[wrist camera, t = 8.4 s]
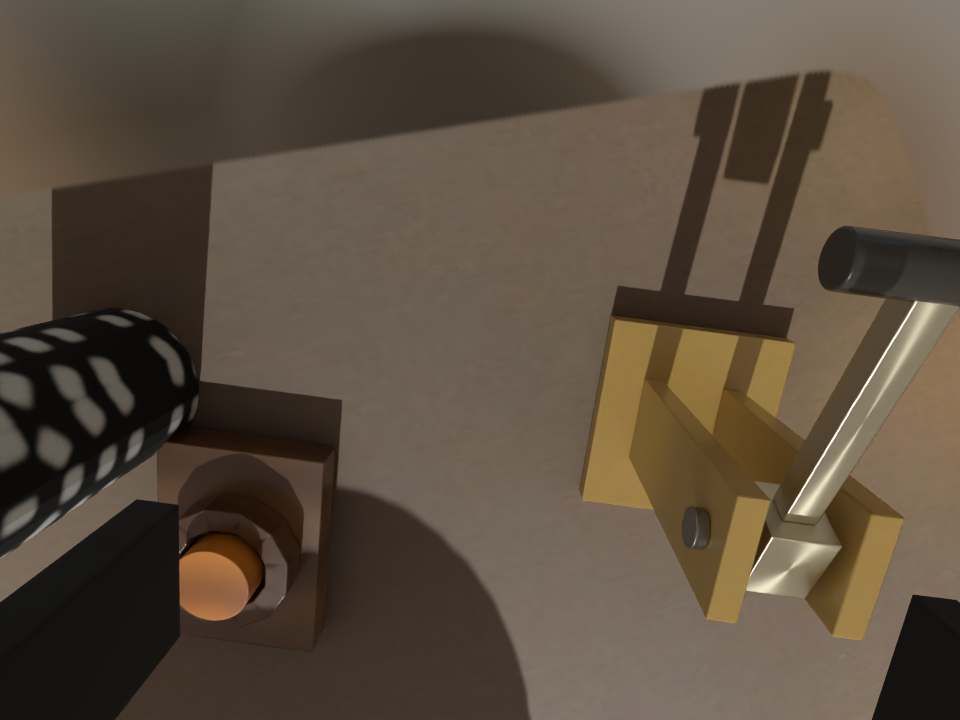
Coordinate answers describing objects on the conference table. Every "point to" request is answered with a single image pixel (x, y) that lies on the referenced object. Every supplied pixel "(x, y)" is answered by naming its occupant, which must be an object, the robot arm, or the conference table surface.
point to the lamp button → (218, 576)
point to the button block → (257, 526)
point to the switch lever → (856, 391)
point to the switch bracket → (721, 464)
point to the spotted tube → (83, 411)
